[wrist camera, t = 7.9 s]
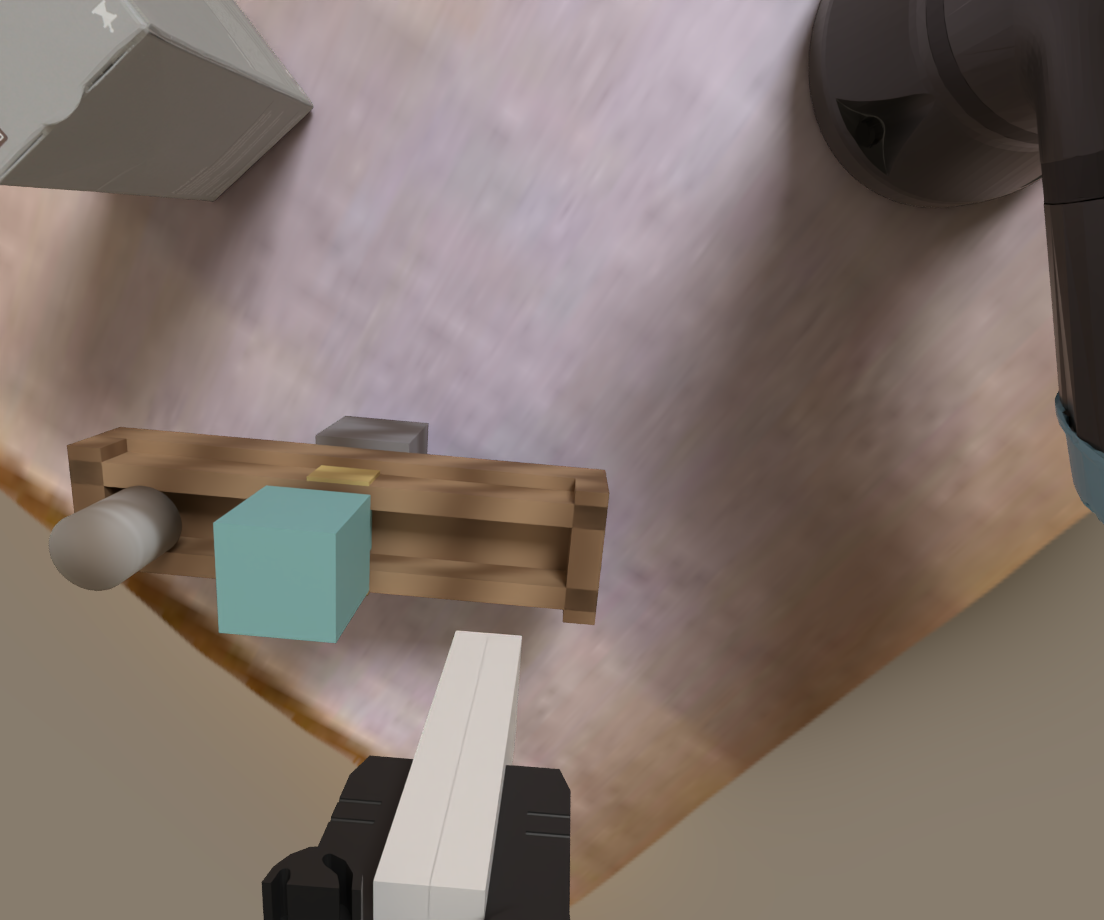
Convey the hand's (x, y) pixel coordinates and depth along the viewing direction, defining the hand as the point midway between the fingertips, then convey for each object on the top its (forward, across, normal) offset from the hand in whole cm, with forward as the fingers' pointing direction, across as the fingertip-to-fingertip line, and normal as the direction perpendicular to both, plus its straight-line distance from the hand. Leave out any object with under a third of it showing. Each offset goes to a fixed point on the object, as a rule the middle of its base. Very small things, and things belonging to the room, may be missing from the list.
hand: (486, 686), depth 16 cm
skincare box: (+27, -18, +16) cm, 36 cm away
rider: (+19, -10, -4) cm, 22 cm away
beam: (+26, -9, -4) cm, 28 cm away
